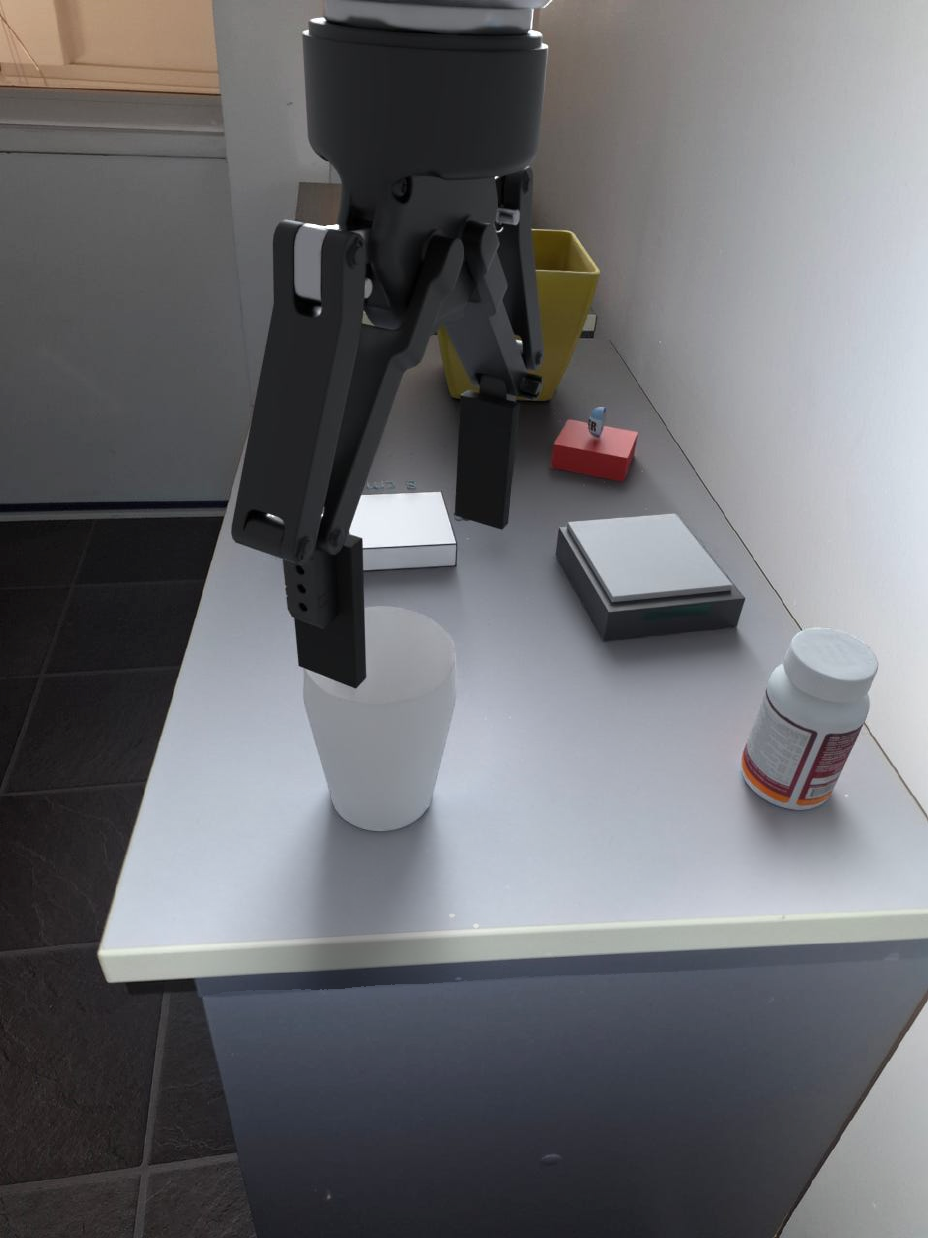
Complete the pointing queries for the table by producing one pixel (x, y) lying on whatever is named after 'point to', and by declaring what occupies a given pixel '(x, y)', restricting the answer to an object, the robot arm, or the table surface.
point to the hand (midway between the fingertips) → (416, 586)
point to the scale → (646, 577)
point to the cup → (386, 720)
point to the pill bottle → (809, 718)
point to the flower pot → (545, 310)
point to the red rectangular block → (594, 448)
